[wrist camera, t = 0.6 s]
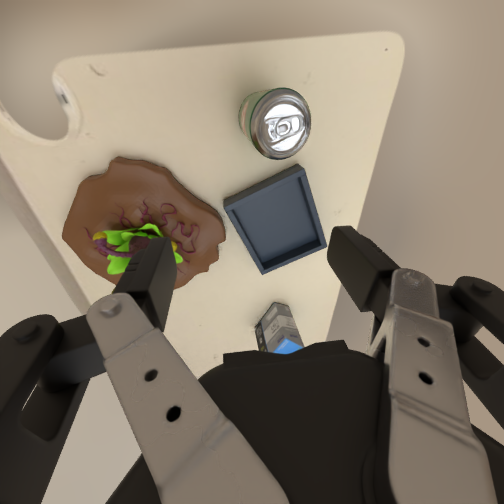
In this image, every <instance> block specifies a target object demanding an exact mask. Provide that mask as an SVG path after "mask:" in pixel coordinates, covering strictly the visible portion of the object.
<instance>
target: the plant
mask: <svg viewBox="0 0 504 504" xmlns="http://www.w3.org/2000/svg"><path fill="white" fill-rule="evenodd" d="M157 237H169V238H170V240H171V243H172V247H173V252H174V256H175V260H176V264H177V277H176V281H175V286H174V289H177V288H180V287H182V286H184V285H185V284H187V283H188V282H189V281H190V280H191V279H192V278H193V277H194V276H195V275H197V274H199V273H202V272H208V270H209V266H210V265H211V264H212V263H214V262H216V261H217V260H218V259H219V250H218V246H217V245H218V244H219V243H222V242H224V241H225V239H226V234H225V227H224V224H223V221H222V218H221V216H220V215H219V214H218V213H217V211H215V210H214V209H213V208H212V207H210V206H209V205H207V204H205V203H204V202H202V201H200V200H198V199H197V198H195V197H194V196H193V195H192V194H191V193H189V192H188V191H187V190H186V189H185V188H184V187H183V186H181V185H180V184H179V183H178V182H177V181H176V180H175V179H174V177H173V176H172V174H171V173H170V172H169V171H168V170H167V169H166V168H164V167H159V166H156V165H154V164H152V163H149V162H147V161H143V160H129V159H124V158H121V157H116V158H115V159H113V160H112V161H111V162H110V164H109V167H108V170H107V172H106V173H104V174H101V175H95V176H90V177H88V178H86V179H85V180H83V181H82V182H81V184H80V185H79V187H78V190H77V193H76V196H75V198H74V201H73V203H72V206H71V209H70V211H69V214H68V217H67V219H66V221H65V224H64V228H63V232H62V239H63V240H64V241H65V242H66V243H67V244H68V245H69V246H70V247H71V249H72V250H73V251H74V252H75V253H76V254H77V256H78V257H79V258H80V259H81V261H82V262H83V263H84V264H85V265H86V266H87V267H88V268H90V269H91V270H92V271H93V272H95V273H96V274H98V275H100V276H101V277H103V278H105V279H107V280H108V281H110V282H112V283H113V284H115V285H117V283H118V282H119V280H120V278H121V276H122V274H123V272H125V269H126V267H127V265H128V263H129V261H130V259H131V258H132V256H133V255H134V254H135V253H137V252H138V251H139V250H140V249H146V248H147V246H148V244H149V242H150V240H151V238H157ZM114 289H115V288H114ZM114 289H113V291H114ZM113 291H112V293H113Z"/></svg>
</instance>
